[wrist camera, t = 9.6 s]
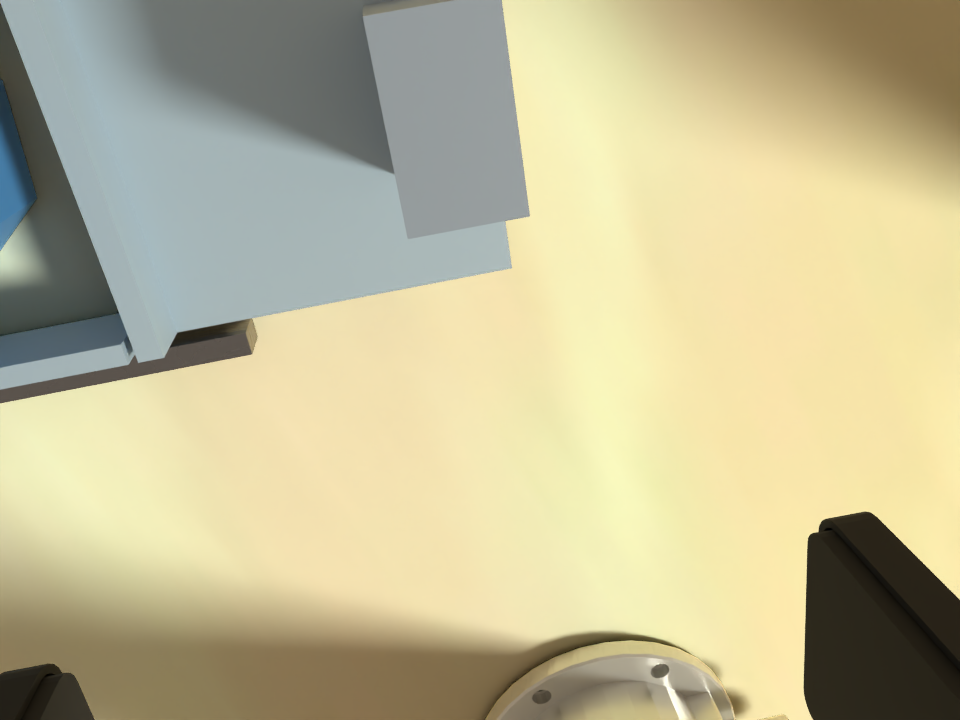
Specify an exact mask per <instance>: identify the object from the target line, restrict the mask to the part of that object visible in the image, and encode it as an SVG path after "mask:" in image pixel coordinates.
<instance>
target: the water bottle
mask: <svg viewBox="0 0 960 720" xmlns="http://www.w3.org/2000/svg"><path fill="white" fill-rule="evenodd" d="M36 199H37V196H36V192H35V189H34V186H33V182H32V179H31V175H30V172H29V169H28V165H27V162H26V158H25V155H24V152H23V148H22V145H21V141H20V138H19V135H18V131H17V128H16V124H15V121H14V118H13V114H12V111H11V107H10V104H9V101H8V97H7V94H6V90H5V87H4V84H3V81H2V80H1V79H0V250H1V249H2V247H3V246H4V245H5V243H6V242H7V240H8V239H9V237H10V236H11V235H12V233H13V232H14V230H15V229H16V227H17V226H18V225H19V223H20V222H21V220H22V219H23V217H24V216H25V215H26V213H27V212H28V210H29V209H30V207H31V206H32V205H33V203H34V202H35V200H36Z"/></svg>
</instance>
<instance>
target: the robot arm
mask: <svg viewBox="0 0 960 720" xmlns="http://www.w3.org/2000/svg"><path fill="white" fill-rule="evenodd" d="M804 695H805V700H806V703H807V707H808V709H809V712H810V714H811V716H812V718H813V720H960V600H959V599H958V598H957V597H956V596H955V595H954V594H953V593H952V592H951V591H950V590H949V589H948V588H947V587H946V586H945V585H944V584H943V583H942V582H941V581H940V580H939V579H938V578H937V577H936V576H935V575H934V574H933V573H932V572H931V571H930V570H929V569H928V568H927V567H926V566H925V565H924V564H923V563H922V562H921V561H920V560H919V559H918V558H917V557H916V556H915V555H914V554H913V553H912V552H911V551H910V550H909V549H908V548H907V547H906V546H905V545H904V544H903V543H902V542H901V541H900V540H899V539H898V538H897V537H896V536H895V535H894V534H893V533H892V532H891V531H890V530H889V529H888V528H887V527H886V526H885V525H884V524H883V523H882V522H881V521H880V520H879V519H878V518H877V517H876V516H875V515H873V514H872V513H870V512H861V513H855V514H850V515H845V516H839V517H834V518H829V519H825V520H823V521H822V522H821V524H820V526H819V532H817V533H812V534H810V536H809V538H808V548H807V585H806V623H805V660H804ZM0 720H94V718H93V715H92V713H91V711H90V709H89V706H88V704H87V702H86V700H85V697H84V695H83V693H82V691H81V688H80V686H79V684H78V682H77V680H76V678H75V676H74V675H72V674H71V673H63V674H62V672H61V670H60V669H59V668H58V667H57V666H56V665H54V664H45V665H39V666H34V667H29V668H23V669H18V670H13V671H7V672H4V673H2V674H0ZM485 720H736V719H735V715H734V711H733V706H732V703H731V701H730V699H729V697H728V695H727V693H726V691H725V689H724V687H723V685H722V683H721V681H720V680H719V679H718V677H717V676H716V675H715V673H714V672H713V671H712V669H711V668H709V667H708V666H707V665H706V664H704V663H703V662H702V661H701V660H699V659H698V658H697V657H695V656H693V655H691V654H689V653H687V652H685V651H683V650H680V649H678V648H675V647H671V646H668V645H664V644H660V643H656V642H645V641H633V640H629V641H615V642H604V643H599V644H595V645H590V646H585V647H581V648H578V649H575V650H572V651H570V652H567V653H564V654H561V655H559V656H556V657H554V658H552V659H550V660H549V661H547V662H545V663H543V664H541V665H539V666H537V667H536V668H534V669H532V670H531V671H529V672H528V673H527V674H525V675H524V676H523V677H521V678H520V679H519V680H517V681H516V682H515V683H513V684H512V685H511V687H510V688H509V689H508V690H507V691H506V692H505V693H504V694H503V695H502V696H501V697H500V698H499V699H498V700H497V702H496V703H495V705H494V706H493V708H492V709H491V711H490V712H489V714H488V715H487V717H486V719H485ZM759 720H789V719H788V718H787V717H786V715H784V714H781V715H777V716H772V717H768V718H764V719H759Z"/></svg>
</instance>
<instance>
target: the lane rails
mask: <svg viewBox="0 0 960 720" xmlns="http://www.w3.org/2000/svg"><path fill="white" fill-rule="evenodd" d="M256 340H257V333H256V330H255V327H254V323H253V320H252V318H250V319H245V320H240V321H235V322H229V323H224V324H219V325H214V326H209V327H203V328H198V329H193V330H188V331H183V332H177V334H176V336H175V338H174V340H173V342H172V344H171V345H170V347H169V349H168V351H167V353H166V355H165V357H164V358H161V359H155V360H150V361H145V362H140V363H138V361H137V358H136V356H135V355H134V357H133V358H132V360H131V362H130V363H129V365H124V366H119V367H114V368H109V369H104V370H99V371H94V372H88V373H83V374H78V375H73V376H68V377H63V378H57V379H52V380H47V381H42V382H37V383H32V384H26V385H21V386H16V387H11V388H6V389H1V390H0V403H4V402H9V401H14V400H19V399H25V398H30V397H35V396H40V395H45V394H50V393H55V392H61V391H66V390H71V389H76V388H81V387H86V386H91V385H97V384H102V383H107V382H112V381H117V380H122V379H127V378H133V377H138V376H143V375H148V374H153V373H158V372H163V371H169V370H174V369H179V368H184V367H189V366H194V365H199V364H205V363H210V362H215V361H220V360H225V359H230V358H235V357H241V356H246V355H251V354H252V353H253V350H254V347H255V343H256Z"/></svg>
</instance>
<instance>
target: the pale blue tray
mask: <svg viewBox="0 0 960 720" xmlns="http://www.w3.org/2000/svg"><path fill="white" fill-rule="evenodd" d="M0 3H1V6H2V8H3V11H4V14H5V16H6V19H7V22H8V24H9V27H10V29H11V32H12V35H13V37H14V40H15V42H16V45H17V48H18V50H19V53H20V55H21V58H22V61H23V63H24V66H25V69H26V71H27V74H28V76H29V79H30V82H31V84H32V87H33V89H34V92H35V95H36V97H37V100H38V102H39V105H40V108H41V110H42V113H43V115H44V118H45V121H46V123H47V126H48V129H49V131H50V134H51V136H52V139H53V142H54V144H55V147H56V149H57V152H58V155H59V157H60V160H61V162H62V165H63V168H64V170H65V173H66V176H67V178H68V181H69V183H70V186H71V189H72V191H73V194H74V196H75V199H76V202H77V204H78V207H79V209H80V212H81V215H82V217H83V220H84V223H85V225H86V228H87V230H88V233H89V236H90V238H91V241H92V243H93V246H94V249H95V251H96V254H97V256H98V259H99V262H100V264H101V267H102V269H103V272H104V275H105V277H106V280H107V283H108V285H109V288H110V290H111V293H112V296H113V298H114V301H115V303H116V306H117V309H118V311H119V314H114V315H108V316H103V317H98V318H93V319H87V320H82V321H77V322H72V323H66V324H61V325H56V326H51V327H45V328H40V329H35V330H30V331H24V332H19V333H14V334H9V335H3V336H0V390H1V389H6V388H11V387H16V386H21V385H26V384H32V383H37V382H42V381H47V380H52V379H57V378H63V377H68V376H73V375H78V374H83V373H88V372H94V371H99V370H104V369H109V368H114V367H119V366H124V365H129V363H130V362H131V360H132V358H133V357H134V355H135V356H136V358H137V361H138V363H140V362H145V361H150V360H155V359H161V358H164V357H165V355H166V353H167V351H168V349H169V347H170V345H171V344H172V342H173V340H174V338H175V336H176V334H177V332H183V331H188V330H193V329H198V328H203V327H209V326H214V325H219V324H224V323H229V322H235V321H240V320H245V319H250V318H255V317H261V316H266V315H271V314H276V313H281V312H287V311H292V310H297V309H302V308H307V307H313V306H318V305H323V304H328V303H333V302H338V301H344V300H349V299H354V298H359V297H364V296H370V295H375V294H380V293H385V292H390V291H396V290H401V289H406V288H411V287H416V286H422V285H427V284H432V283H437V282H442V281H448V280H453V279H458V278H463V277H468V276H474V275H479V274H484V273H489V272H494V271H500V270H505V269H510V268H512V265H511V258H510V251H509V244H508V237H507V231H506V224H505V221H507V220H513V219H518V218H523V217H529V216H530V214H529V206H528V199H527V191H526V183H525V176H524V168H523V160H522V153H521V145H520V137H519V130H518V122H517V115H516V107H515V99H514V92H513V84H512V76H511V69H510V61H509V53H508V46H507V38H506V31H505V23H504V15H503V8H502V0H0Z"/></svg>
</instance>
